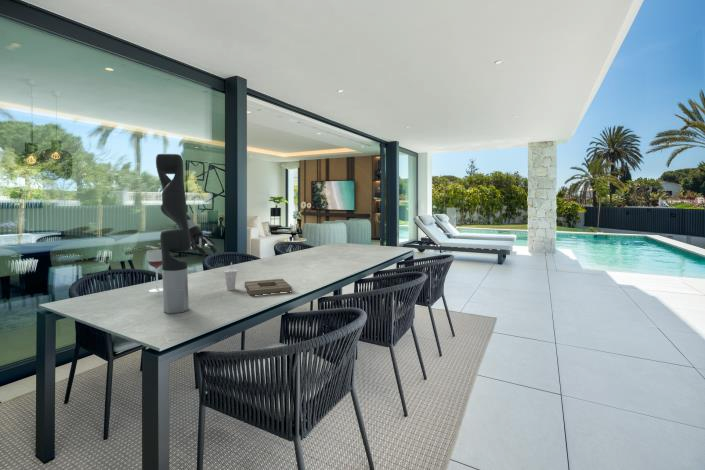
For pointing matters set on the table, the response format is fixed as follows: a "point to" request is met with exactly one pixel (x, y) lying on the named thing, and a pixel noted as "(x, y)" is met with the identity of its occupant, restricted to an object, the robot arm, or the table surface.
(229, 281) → the smoothie
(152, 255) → the wineglass
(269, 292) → the caddy
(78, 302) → the table surface
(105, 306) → the table surface
